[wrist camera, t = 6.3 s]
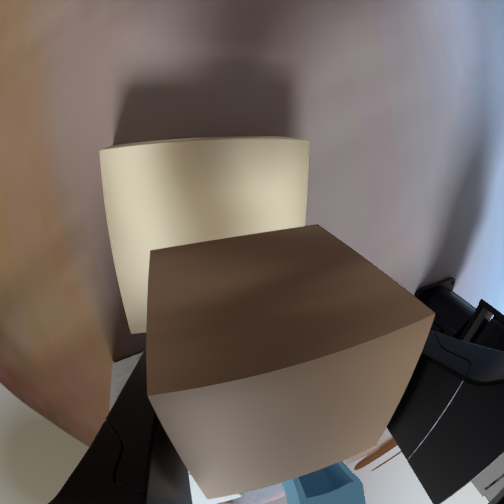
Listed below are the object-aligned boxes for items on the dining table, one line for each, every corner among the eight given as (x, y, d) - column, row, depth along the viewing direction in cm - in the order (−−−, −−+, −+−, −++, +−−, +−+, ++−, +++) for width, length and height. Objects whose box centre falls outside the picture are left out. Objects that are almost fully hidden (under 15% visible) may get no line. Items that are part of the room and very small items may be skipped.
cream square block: (280, 136, 17) (309, 140, 14) (274, 279, 22) (297, 310, 18) (113, 145, 15) (99, 150, 11) (134, 297, 19) (131, 333, 15)
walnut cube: (317, 224, 9) (435, 313, 5) (309, 345, 11) (376, 444, 7) (150, 250, 8) (146, 395, 4) (182, 375, 10) (207, 499, 6)
